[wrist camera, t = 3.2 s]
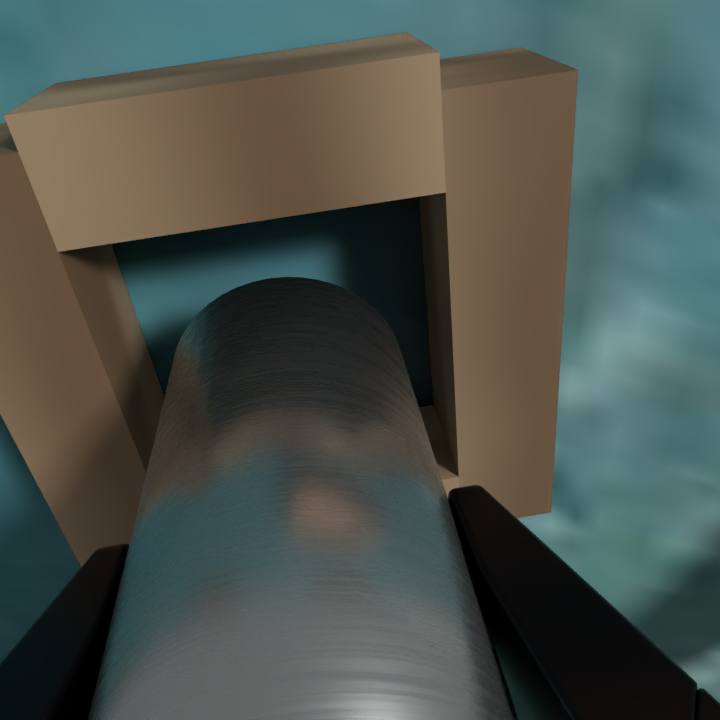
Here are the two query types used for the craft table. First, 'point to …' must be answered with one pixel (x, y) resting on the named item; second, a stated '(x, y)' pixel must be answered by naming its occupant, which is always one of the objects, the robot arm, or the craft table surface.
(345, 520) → the silver metal cylinder
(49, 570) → the craft table surface
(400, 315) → the craft table surface
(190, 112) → the brown wooden square frame
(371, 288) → the craft table surface
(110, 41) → the craft table surface
